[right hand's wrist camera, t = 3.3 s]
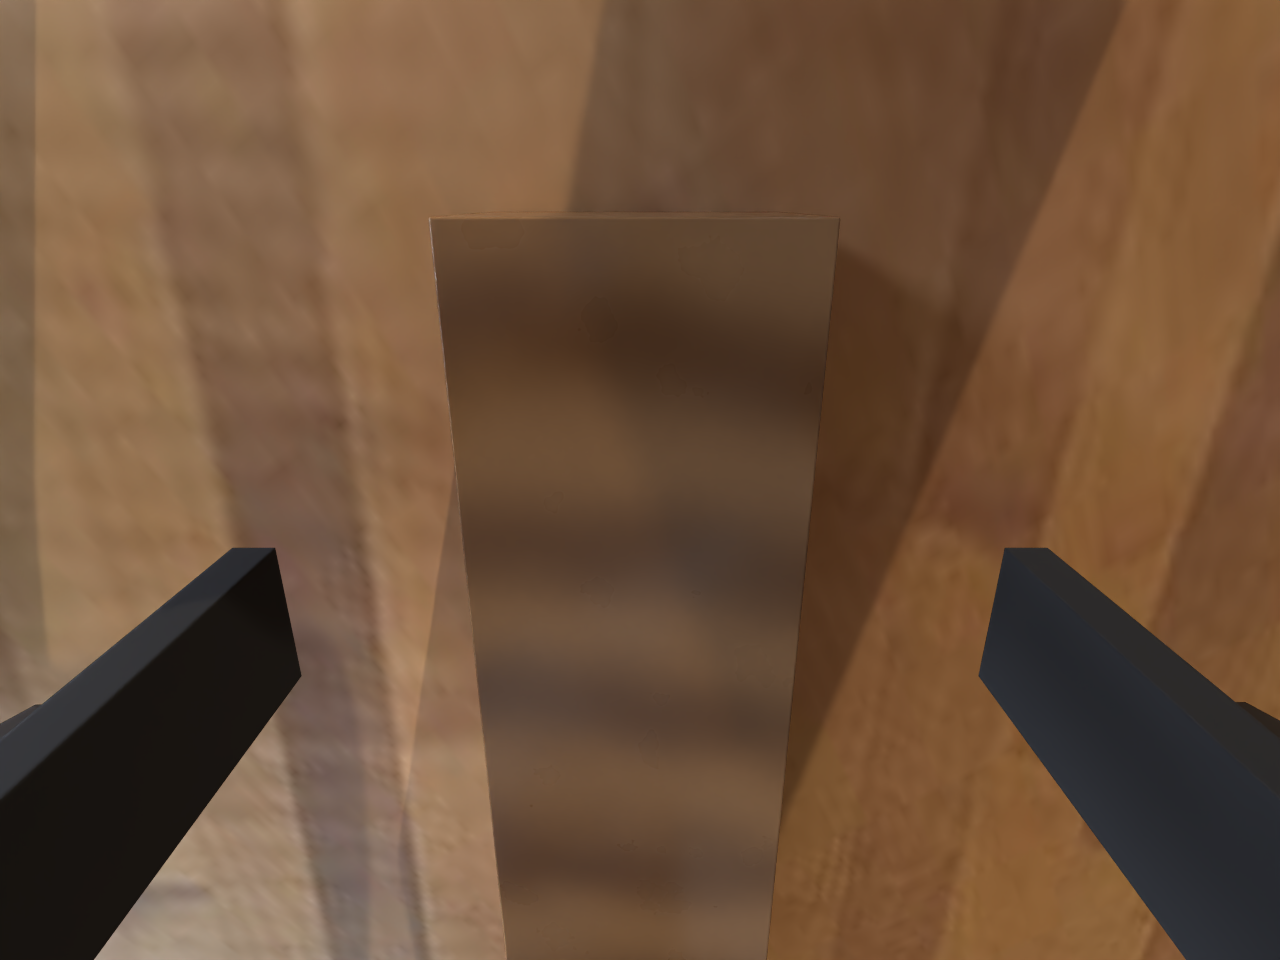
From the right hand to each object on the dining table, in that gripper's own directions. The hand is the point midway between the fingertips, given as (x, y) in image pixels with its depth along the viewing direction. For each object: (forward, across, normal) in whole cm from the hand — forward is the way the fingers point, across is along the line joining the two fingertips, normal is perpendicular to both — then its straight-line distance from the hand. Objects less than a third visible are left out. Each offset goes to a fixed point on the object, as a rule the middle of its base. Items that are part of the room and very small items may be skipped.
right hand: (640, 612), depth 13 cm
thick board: (+12, 0, -23) cm, 26 cm away
